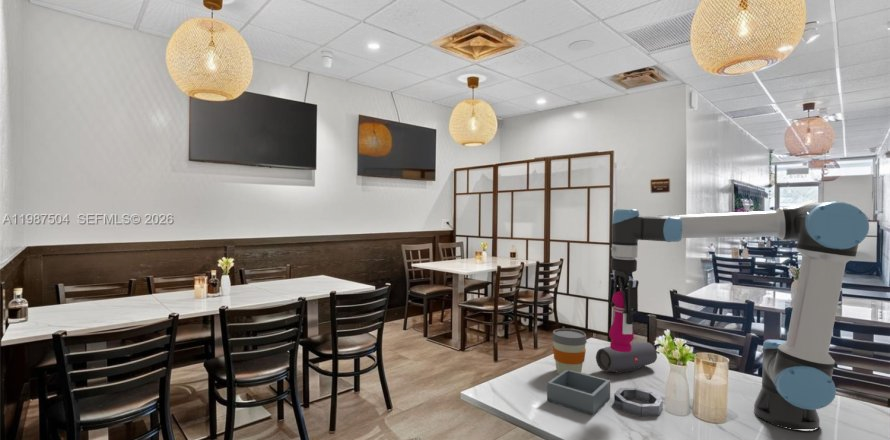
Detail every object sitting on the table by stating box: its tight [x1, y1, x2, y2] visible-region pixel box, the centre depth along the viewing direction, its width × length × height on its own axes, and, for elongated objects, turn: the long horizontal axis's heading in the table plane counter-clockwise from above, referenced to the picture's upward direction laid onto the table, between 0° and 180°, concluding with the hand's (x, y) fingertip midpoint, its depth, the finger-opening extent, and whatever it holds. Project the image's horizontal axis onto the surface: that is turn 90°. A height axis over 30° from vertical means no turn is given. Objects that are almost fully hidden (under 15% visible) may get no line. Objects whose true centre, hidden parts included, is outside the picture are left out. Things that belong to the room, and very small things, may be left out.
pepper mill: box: [608, 289, 634, 352], centre depth 133 cm, size 7×7×20 cm
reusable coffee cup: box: [551, 328, 587, 375], centre depth 160 cm, size 13×13×15 cm
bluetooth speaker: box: [595, 341, 658, 374], centre depth 163 cm, size 23×9×10 cm, turn 112°
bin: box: [546, 369, 611, 417], centre depth 137 cm, size 15×15×6 cm
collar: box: [613, 387, 664, 417], centre depth 133 cm, size 13×13×3 cm
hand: (621, 330), depth 134 cm, fingers closed on pepper mill, 6 cm apart
